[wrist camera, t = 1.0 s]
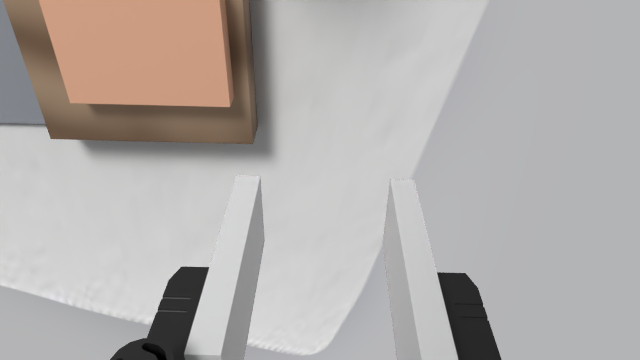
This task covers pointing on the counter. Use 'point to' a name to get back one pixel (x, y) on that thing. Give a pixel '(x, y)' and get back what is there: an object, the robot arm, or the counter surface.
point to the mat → (15, 79)
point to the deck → (138, 119)
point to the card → (142, 51)
